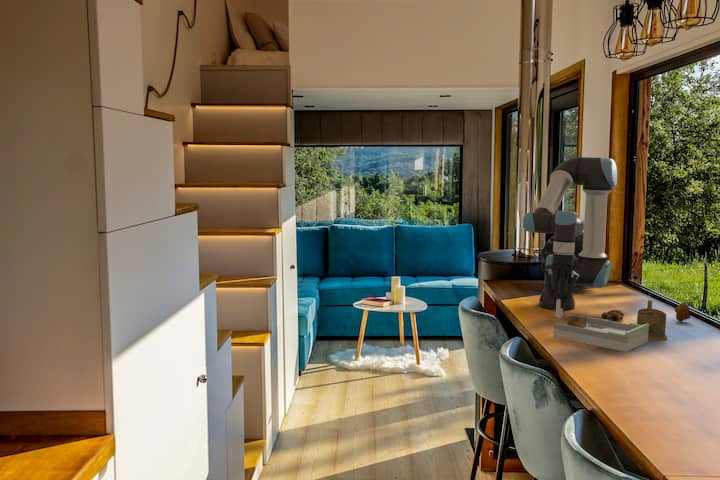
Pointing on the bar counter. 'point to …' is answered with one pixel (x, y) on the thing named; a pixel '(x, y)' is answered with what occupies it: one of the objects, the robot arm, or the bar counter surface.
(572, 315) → the block
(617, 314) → the figurine
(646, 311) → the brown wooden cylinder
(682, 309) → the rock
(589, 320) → the grey rectangular tray
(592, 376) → the bar counter surface
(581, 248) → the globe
